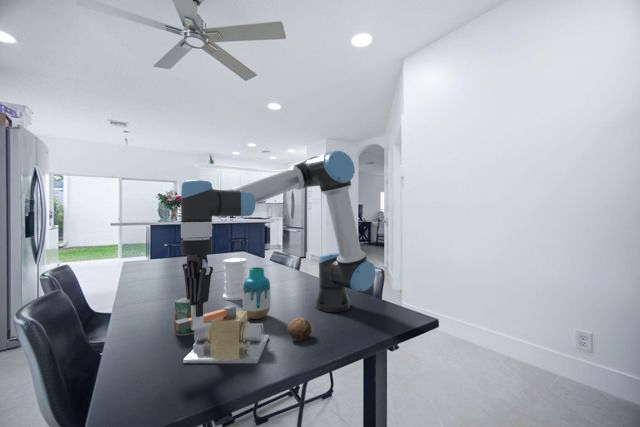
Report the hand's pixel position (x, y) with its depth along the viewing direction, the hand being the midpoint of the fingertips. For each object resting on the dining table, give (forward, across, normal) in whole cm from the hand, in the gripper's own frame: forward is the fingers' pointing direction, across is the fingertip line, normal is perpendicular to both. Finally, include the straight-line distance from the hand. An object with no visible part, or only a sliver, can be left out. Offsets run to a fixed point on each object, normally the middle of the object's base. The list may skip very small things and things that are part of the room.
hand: (197, 328), depth 72 cm
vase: (+10, +17, -31) cm, 36 cm away
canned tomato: (+10, +25, -8) cm, 28 cm away
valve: (+10, +2, -10) cm, 14 cm away
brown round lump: (+10, -8, -30) cm, 32 cm away
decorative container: (+9, +47, -40) cm, 62 cm away
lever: (0, +2, -4) cm, 4 cm away
